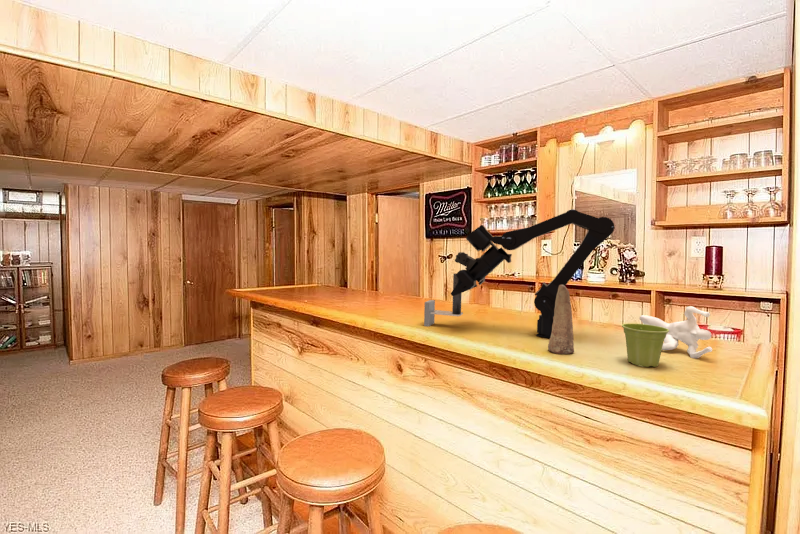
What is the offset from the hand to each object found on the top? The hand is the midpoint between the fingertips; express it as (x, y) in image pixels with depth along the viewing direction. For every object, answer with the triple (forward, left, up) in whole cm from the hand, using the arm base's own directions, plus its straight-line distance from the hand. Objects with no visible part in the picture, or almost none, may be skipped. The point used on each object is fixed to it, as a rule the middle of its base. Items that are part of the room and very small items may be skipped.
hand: (452, 294), depth 130 cm
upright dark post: (+2, +1, -7) cm, 7 cm away
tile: (+8, +2, -11) cm, 13 cm away
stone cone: (-37, +6, -11) cm, 39 cm away
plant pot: (-55, +2, -11) cm, 56 cm away
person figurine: (-59, -17, -11) cm, 62 cm away
